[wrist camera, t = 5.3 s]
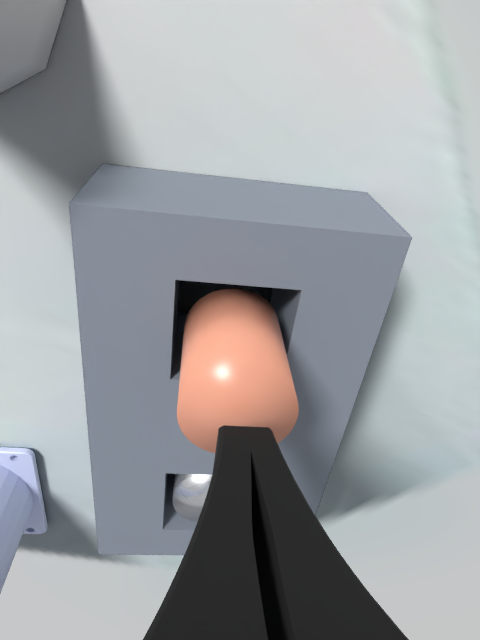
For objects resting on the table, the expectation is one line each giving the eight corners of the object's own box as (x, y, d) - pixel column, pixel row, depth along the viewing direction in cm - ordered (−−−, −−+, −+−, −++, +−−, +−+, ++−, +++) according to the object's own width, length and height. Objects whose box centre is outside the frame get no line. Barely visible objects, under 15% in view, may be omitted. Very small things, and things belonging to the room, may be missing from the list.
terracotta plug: (181, 364, 18) (174, 453, 14) (186, 284, 16) (179, 363, 12) (270, 369, 18) (286, 458, 14) (286, 292, 16) (310, 370, 12)
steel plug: (176, 452, 26) (171, 522, 23) (179, 408, 25) (174, 476, 21) (236, 455, 27) (240, 523, 23) (243, 411, 25) (250, 478, 21)
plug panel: (115, 475, 28) (98, 554, 24) (102, 163, 18) (68, 203, 13) (287, 480, 29) (300, 556, 25) (367, 192, 19) (412, 237, 15)
